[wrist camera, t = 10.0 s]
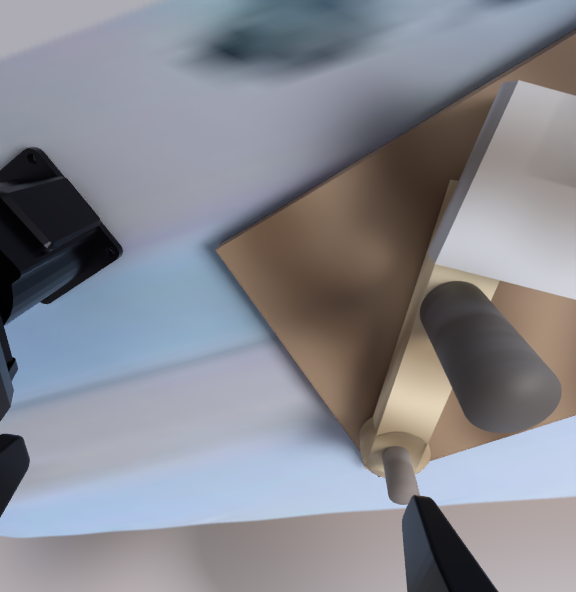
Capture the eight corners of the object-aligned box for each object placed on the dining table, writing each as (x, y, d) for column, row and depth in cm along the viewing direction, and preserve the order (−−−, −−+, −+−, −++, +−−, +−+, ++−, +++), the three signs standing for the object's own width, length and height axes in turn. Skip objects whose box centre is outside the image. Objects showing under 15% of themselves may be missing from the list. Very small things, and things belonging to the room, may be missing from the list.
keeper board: (376, 464, 26) (387, 533, 22) (217, 239, 20) (188, 275, 15) (690, 362, 21) (786, 428, 16) (614, -3, 14) (742, -52, 10)
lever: (413, 462, 24) (448, 597, 17) (353, 452, 24) (364, 583, 17) (530, 192, 16) (676, 250, 9) (439, 177, 16) (520, 225, 9)
